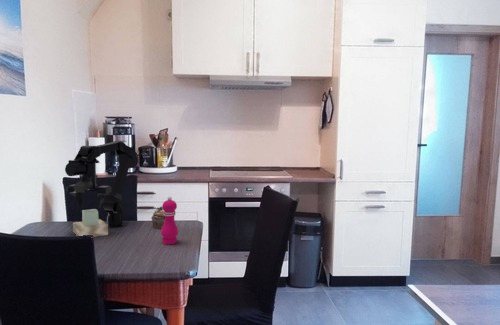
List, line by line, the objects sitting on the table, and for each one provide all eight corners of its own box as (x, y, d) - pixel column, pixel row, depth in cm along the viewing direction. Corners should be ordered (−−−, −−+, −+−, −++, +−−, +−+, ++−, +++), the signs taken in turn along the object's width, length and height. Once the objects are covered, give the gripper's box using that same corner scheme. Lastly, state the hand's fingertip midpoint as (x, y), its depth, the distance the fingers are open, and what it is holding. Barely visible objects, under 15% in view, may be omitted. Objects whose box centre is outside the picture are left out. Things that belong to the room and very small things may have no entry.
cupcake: (173, 224, 190) (173, 205, 189) (168, 229, 180) (168, 209, 179) (155, 223, 190) (154, 204, 189) (148, 229, 181) (148, 208, 180)
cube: (96, 221, 175) (96, 209, 174) (98, 224, 170) (98, 211, 169) (82, 223, 172) (82, 210, 171) (84, 226, 167) (83, 213, 166)
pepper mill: (180, 240, 165) (180, 195, 163) (175, 245, 158) (175, 198, 156) (164, 239, 166) (164, 194, 164) (158, 244, 158) (158, 197, 156)
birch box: (100, 229, 180) (99, 219, 180) (108, 235, 171) (107, 224, 170) (73, 233, 173) (72, 222, 172) (80, 240, 163) (79, 228, 163)
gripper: (58, 175, 162) (59, 210, 164) (98, 177, 160) (99, 212, 161) (73, 172, 173) (74, 205, 175) (111, 173, 171) (112, 207, 172)
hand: (89, 207), depth 170 cm, fingers open, 9 cm apart
